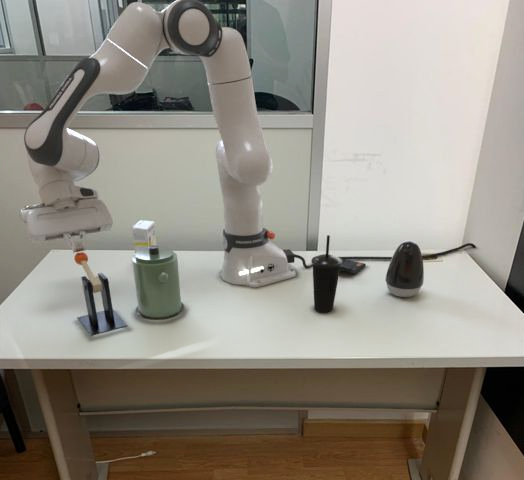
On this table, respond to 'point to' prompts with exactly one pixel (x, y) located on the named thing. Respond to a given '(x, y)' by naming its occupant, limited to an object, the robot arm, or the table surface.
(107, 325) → the switch bracket
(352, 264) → the calculator
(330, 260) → the drinking cup
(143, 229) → the ink box
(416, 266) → the black egg-shaped device
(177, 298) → the green canister
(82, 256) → the switch lever
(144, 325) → the table surface
